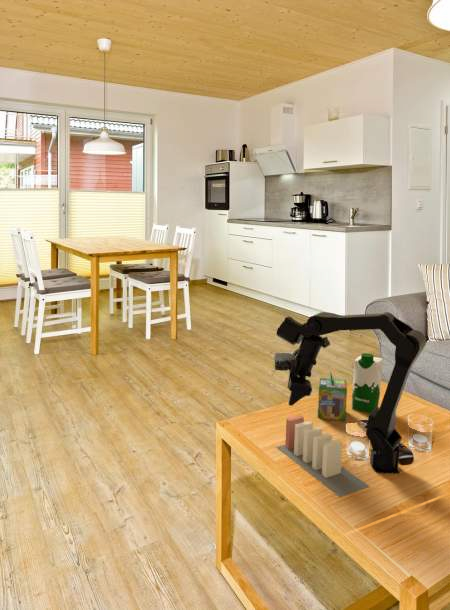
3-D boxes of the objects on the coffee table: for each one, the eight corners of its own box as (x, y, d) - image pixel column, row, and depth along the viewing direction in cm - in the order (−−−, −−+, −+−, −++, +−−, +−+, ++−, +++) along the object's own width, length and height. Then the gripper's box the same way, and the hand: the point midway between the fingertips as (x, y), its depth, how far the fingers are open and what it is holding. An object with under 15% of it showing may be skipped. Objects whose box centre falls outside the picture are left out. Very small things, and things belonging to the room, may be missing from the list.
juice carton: (345, 421, 166) (348, 379, 163) (317, 419, 168) (319, 377, 165) (344, 410, 175) (347, 369, 172) (317, 408, 177) (320, 367, 174)
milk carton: (348, 409, 176) (352, 354, 172) (357, 400, 183) (360, 348, 179) (373, 415, 171) (378, 359, 167) (381, 406, 179) (385, 352, 174)
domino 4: (312, 467, 137) (313, 436, 135) (326, 463, 140) (328, 433, 138) (315, 470, 136) (317, 439, 134) (330, 465, 138) (332, 435, 136)
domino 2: (293, 453, 145) (295, 424, 143) (307, 449, 147) (309, 420, 145) (297, 456, 143) (298, 426, 141) (311, 452, 146) (312, 423, 144)
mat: (275, 448, 148) (275, 447, 148) (303, 441, 153) (303, 439, 153) (339, 498, 124) (339, 496, 124) (370, 487, 129) (370, 486, 129)
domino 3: (302, 460, 141) (304, 430, 139) (316, 456, 143) (318, 426, 141) (306, 462, 140) (307, 432, 138) (320, 458, 142) (322, 429, 140)
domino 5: (321, 474, 134) (323, 443, 132) (336, 470, 136) (338, 439, 134) (325, 477, 132) (327, 446, 130) (340, 473, 135) (342, 442, 133)
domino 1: (285, 447, 148) (286, 418, 146) (299, 443, 150) (300, 415, 149) (288, 449, 147) (289, 420, 145) (302, 445, 149) (303, 417, 147)
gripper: (280, 330, 154) (264, 373, 160) (281, 360, 137) (263, 406, 143) (315, 341, 154) (297, 383, 161) (320, 372, 137) (301, 417, 143)
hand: (289, 396), depth 152 cm, fingers open, 9 cm apart
